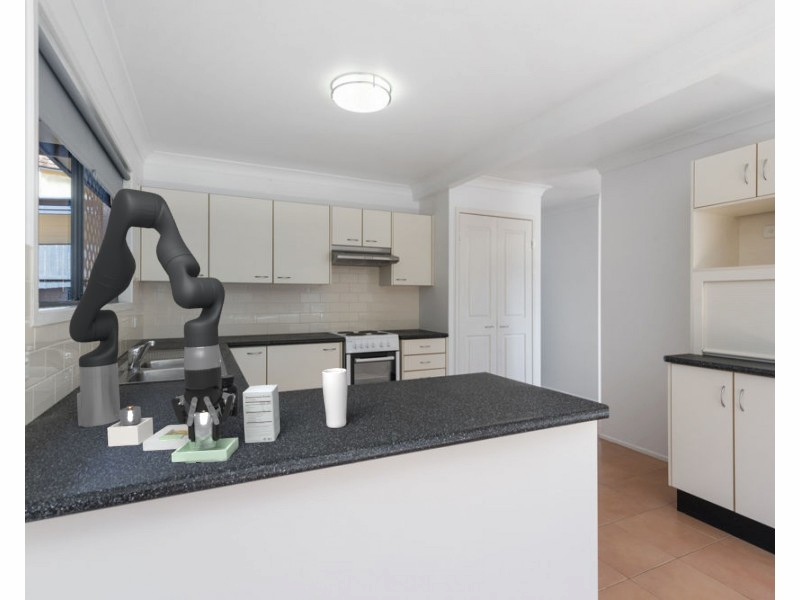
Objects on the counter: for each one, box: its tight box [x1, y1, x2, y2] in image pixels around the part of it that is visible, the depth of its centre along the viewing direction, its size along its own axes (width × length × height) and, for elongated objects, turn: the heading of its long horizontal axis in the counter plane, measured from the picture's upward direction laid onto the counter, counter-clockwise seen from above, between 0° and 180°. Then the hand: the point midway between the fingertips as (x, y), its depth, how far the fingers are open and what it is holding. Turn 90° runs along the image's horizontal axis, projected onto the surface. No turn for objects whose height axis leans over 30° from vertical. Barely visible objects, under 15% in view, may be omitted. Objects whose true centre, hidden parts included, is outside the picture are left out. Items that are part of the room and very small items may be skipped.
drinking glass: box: [321, 367, 349, 429], centre depth 112 cm, size 7×7×15 cm
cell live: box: [194, 410, 217, 450], centre depth 94 cm, size 4×4×9 cm
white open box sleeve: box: [107, 417, 154, 447], centre depth 104 cm, size 7×7×5 cm
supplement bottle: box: [219, 374, 240, 418], centre depth 124 cm, size 7×7×12 cm
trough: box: [171, 437, 240, 464], centre depth 94 cm, size 12×8×2 cm
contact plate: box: [170, 430, 188, 436], centre depth 103 cm, size 6×6×1 cm
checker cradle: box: [142, 423, 189, 452], centre depth 103 cm, size 12×12×3 cm
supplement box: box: [242, 384, 281, 444], centre depth 104 cm, size 7×7×13 cm
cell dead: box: [119, 405, 142, 427], centre depth 104 cm, size 4×4×9 cm
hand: (206, 439), depth 94 cm, fingers closed on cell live, 4 cm apart
